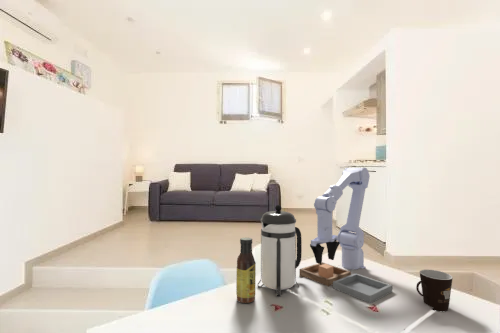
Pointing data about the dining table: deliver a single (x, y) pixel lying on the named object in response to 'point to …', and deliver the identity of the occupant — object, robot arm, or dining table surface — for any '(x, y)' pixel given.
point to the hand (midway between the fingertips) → (325, 261)
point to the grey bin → (362, 287)
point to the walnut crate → (313, 274)
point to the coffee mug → (435, 289)
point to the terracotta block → (326, 271)
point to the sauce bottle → (245, 272)
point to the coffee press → (279, 250)
